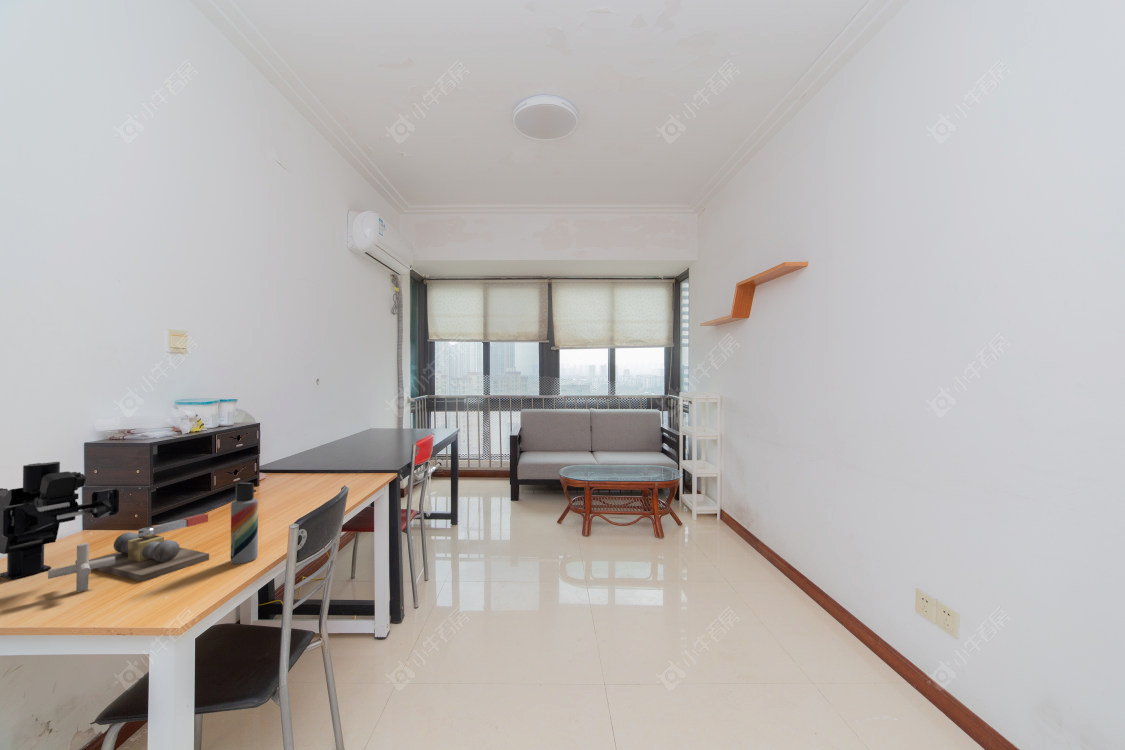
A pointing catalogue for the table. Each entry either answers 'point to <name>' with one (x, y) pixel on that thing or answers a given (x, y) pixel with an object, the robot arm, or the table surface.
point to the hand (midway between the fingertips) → (83, 514)
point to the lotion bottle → (244, 524)
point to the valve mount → (149, 557)
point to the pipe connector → (81, 567)
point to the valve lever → (172, 525)
